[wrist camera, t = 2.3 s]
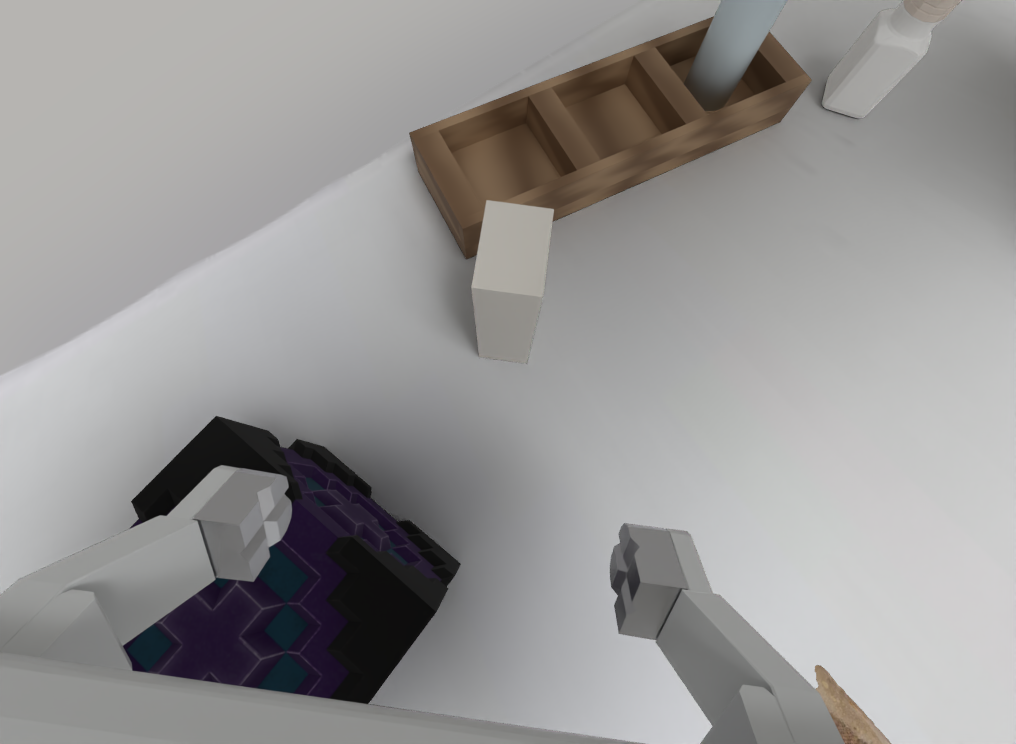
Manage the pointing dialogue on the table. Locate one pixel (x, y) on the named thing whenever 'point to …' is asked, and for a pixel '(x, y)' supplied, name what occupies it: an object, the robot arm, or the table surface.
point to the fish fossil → (847, 713)
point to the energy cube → (297, 580)
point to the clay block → (510, 278)
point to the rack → (595, 131)
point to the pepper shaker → (883, 55)
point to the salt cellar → (729, 49)
